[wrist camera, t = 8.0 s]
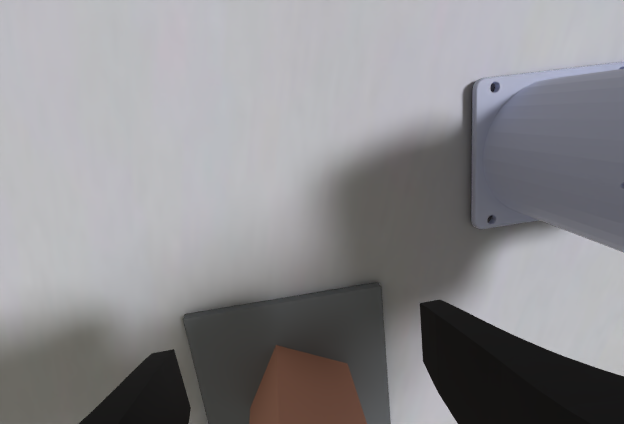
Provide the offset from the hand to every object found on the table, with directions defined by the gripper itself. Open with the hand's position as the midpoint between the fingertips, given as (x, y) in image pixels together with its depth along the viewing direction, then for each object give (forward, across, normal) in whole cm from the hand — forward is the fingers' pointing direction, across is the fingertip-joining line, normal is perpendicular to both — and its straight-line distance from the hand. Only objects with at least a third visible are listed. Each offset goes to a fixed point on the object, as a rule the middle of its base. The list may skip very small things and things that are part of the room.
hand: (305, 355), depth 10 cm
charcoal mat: (+9, +1, +9) cm, 13 cm away
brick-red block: (+9, +1, +9) cm, 12 cm away
